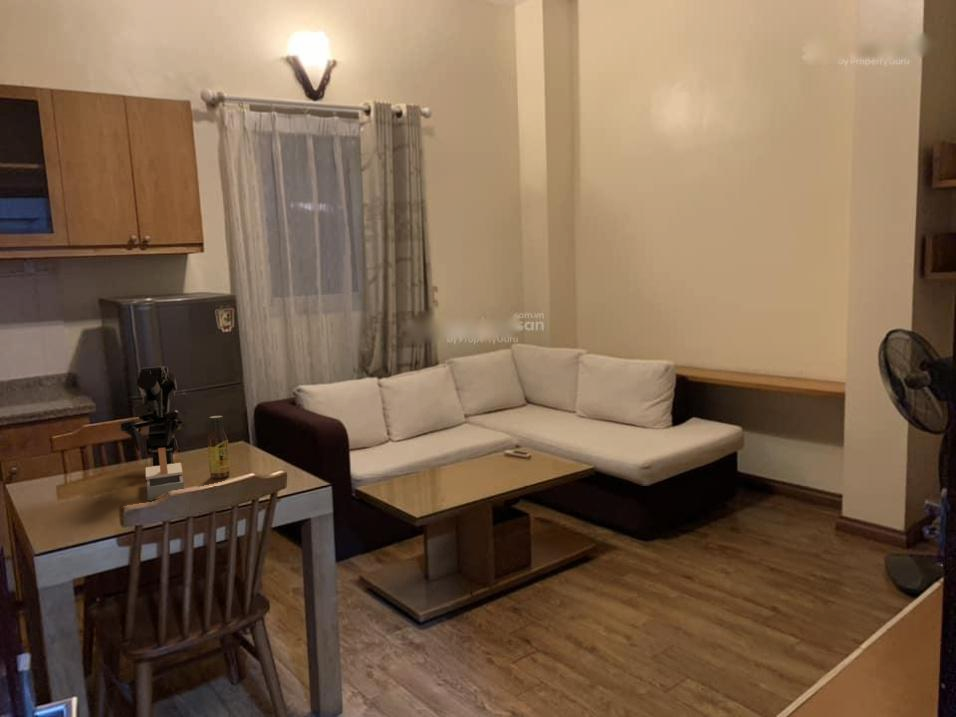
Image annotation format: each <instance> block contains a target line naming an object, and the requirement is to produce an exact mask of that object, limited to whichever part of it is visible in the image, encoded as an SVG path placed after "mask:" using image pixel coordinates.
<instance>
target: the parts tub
mask: <svg viewBox="0 0 956 717" xmlns="http://www.w3.org/2000/svg"><path fill="white" fill-rule="evenodd" d="M178 489H184V490H185V485H184V478H183V474H181V475H174V476H168V477H161V478H154V479H147V480H146V490H147V491H146V494H147V501H148V500H150V501H153V500H152V499H156V498H157V497H159V496H161V495H162V494H164V493H167V492H169V491H172V490H178ZM156 500H157V499H156Z"/></svg>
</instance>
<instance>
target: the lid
mask: <svg viewBox="0 0 956 717" xmlns="http://www.w3.org/2000/svg"><path fill="white" fill-rule="evenodd" d="M158 453H159V463H160V466H153V465H152V466H146V467H145V480H146V481H147V479H154V478H161V477H168V476H174V475H181V474H182V475H183V474H184V472H183V467H182V463H181V462H175V463H174V462H173V463H174V464H167V461H166V451H165V447H164V448H158Z"/></svg>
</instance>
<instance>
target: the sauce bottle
mask: <svg viewBox="0 0 956 717" xmlns="http://www.w3.org/2000/svg"><path fill="white" fill-rule="evenodd" d="M223 421H224V417H223V415H213V416H209V422H210V433H209V435H208V436H207V451H208V452H207V453H208V467H209V473H210V477H211V479H222V478H227V477H229V475H230V473H231V472H230V471H231V466H230V465H231V464H230V455H229V454H230V453H229V440H228V437H227V435H226V433H225V431H224V426H223V424H224V423H223Z"/></svg>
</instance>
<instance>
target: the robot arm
mask: <svg viewBox="0 0 956 717" xmlns="http://www.w3.org/2000/svg"><path fill="white" fill-rule="evenodd" d="M136 383H137V387H138V388H139V390H140V393H141V395H142V403H140V405H138V406H134V407H132V412H133V417H134V418H138V419H139V420H142V421H138V422H137V421H135V420H134V419H130V420H129V419H128V420H125V421H122V422H120V424H119V429H120V431H121V432H123V433H125V434H126V435H128V436H130V437H131V439H132V441H133V444H134V447H135V448H136V450H137V451H138V452H140V451H141V448H142V441H143V440H142V437H143V433H142V432H141V431H142V429H143V428H147V427H148V433H147V434H148V435H147V436H146V437H145V444H146V450H147V455H148V456H150V455H151V456H152V460H151V461H152V467H153V466H160V463H159V453H158V448H164V447H165V451H166V461H167V464H174V456H173V454H174V453H175V452H178V442H177V438H175V433H176V432H177V430H178V429H179V427H181V426H182V425H183V424H185V423H186V418H185V415H184V414H182V413H181V412H180V411H179V410H176V409H175V410H172V411H170V402H171V401H172V400H173V399H174V398H175V396H176V392H177V391H178V384H177V379H176V375H175V374H173V373H172V372H171V371H169V368H168V366H166V365H158V366H151V367H150V366H147V367H141V368H140V371H139V372H138V376H137V380H136Z"/></svg>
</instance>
